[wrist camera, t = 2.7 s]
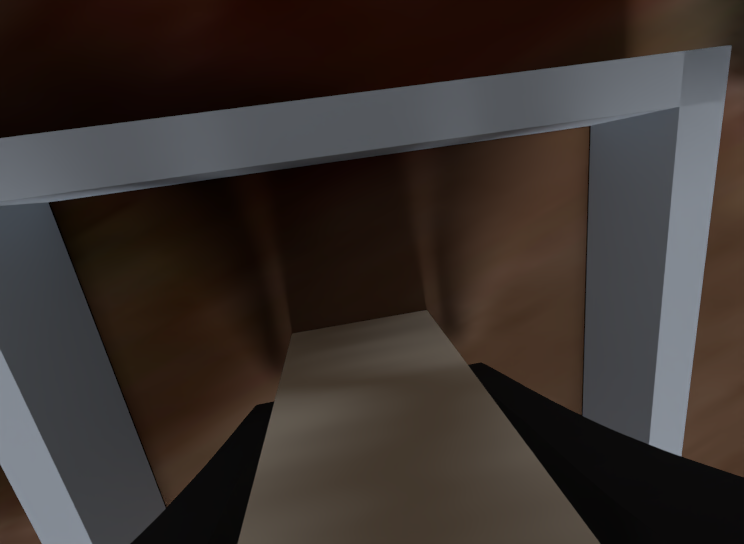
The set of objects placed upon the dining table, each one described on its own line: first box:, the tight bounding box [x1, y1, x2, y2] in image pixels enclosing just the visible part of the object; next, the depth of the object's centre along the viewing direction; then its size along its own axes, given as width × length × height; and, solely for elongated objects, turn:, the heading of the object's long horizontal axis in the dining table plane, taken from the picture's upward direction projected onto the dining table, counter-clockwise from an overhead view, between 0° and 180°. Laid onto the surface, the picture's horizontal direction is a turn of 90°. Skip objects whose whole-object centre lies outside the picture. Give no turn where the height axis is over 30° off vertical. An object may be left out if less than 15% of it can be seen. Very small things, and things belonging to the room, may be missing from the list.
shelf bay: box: [0, 45, 732, 544], centre depth 10 cm, size 16×17×2 cm
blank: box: [238, 310, 600, 544], centre depth 7 cm, size 4×4×7 cm
